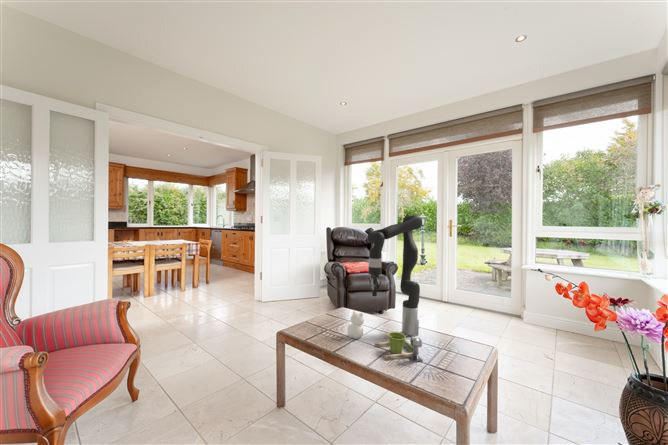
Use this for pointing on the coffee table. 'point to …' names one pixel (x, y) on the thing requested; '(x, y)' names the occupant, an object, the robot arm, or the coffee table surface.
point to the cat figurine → (356, 325)
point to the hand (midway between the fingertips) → (374, 295)
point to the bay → (397, 356)
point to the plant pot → (396, 342)
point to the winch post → (415, 348)
